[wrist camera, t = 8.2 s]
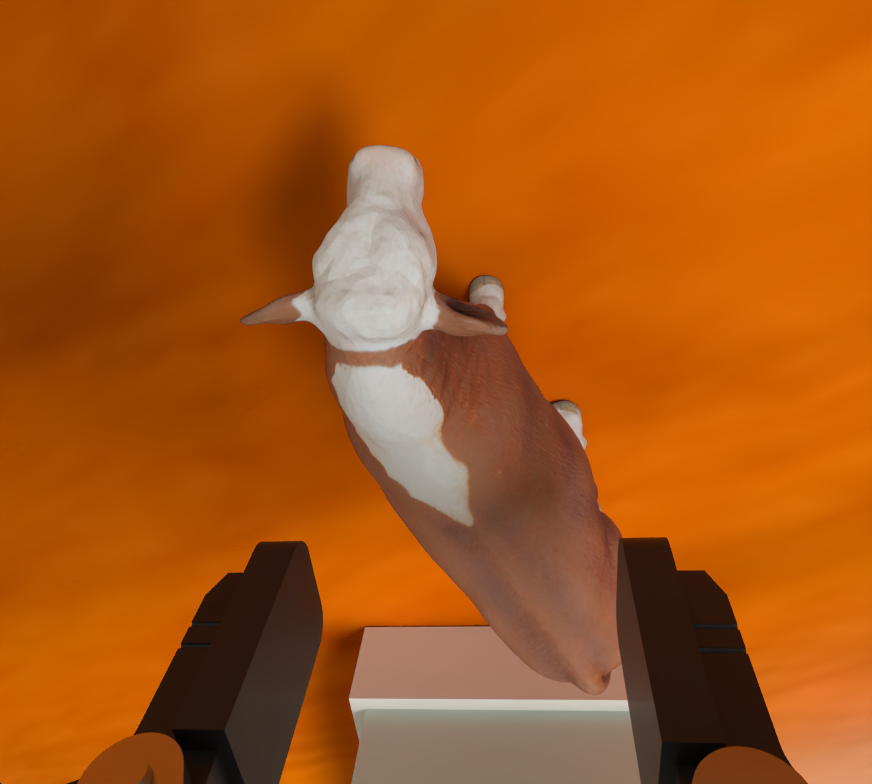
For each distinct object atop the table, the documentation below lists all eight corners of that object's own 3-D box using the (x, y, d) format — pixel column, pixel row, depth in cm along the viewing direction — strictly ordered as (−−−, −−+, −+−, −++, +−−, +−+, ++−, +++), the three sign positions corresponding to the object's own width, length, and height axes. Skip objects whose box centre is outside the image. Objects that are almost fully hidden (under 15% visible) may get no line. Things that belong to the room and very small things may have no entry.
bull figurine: (453, 80, 17) (412, 139, 10) (632, 507, 22) (691, 748, 15) (295, 159, 18) (155, 264, 11) (501, 546, 23) (498, 785, 16)
